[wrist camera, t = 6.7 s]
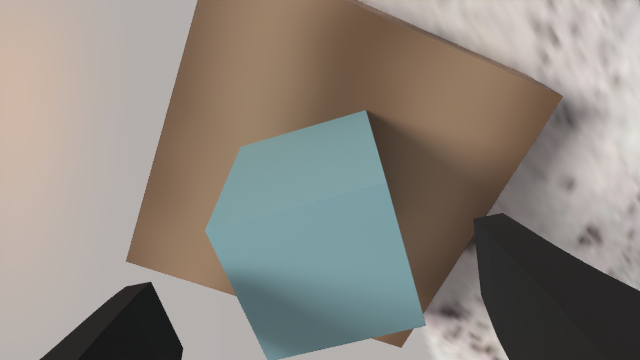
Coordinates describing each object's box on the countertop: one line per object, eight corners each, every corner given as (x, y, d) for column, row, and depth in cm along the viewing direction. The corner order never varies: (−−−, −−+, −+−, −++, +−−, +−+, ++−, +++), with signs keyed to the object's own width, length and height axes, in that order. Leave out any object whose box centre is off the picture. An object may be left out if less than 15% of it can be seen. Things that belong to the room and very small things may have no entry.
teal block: (365, 110, 16) (386, 181, 11) (396, 221, 18) (426, 325, 13) (240, 146, 16) (205, 230, 11) (283, 250, 18) (268, 361, 13)
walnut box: (521, 72, 19) (563, 96, 16) (390, 295, 23) (401, 347, 20) (233, -55, 17) (213, -57, 14) (154, 216, 22) (126, 261, 18)
